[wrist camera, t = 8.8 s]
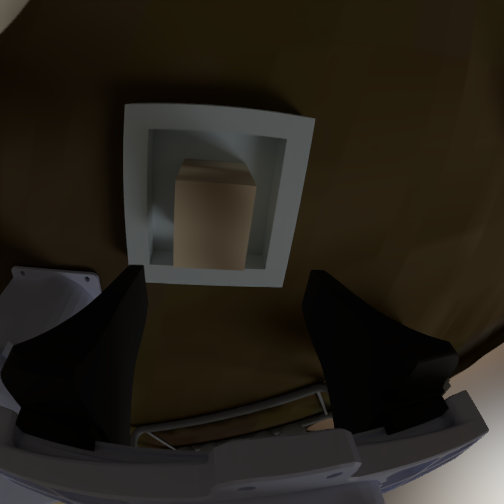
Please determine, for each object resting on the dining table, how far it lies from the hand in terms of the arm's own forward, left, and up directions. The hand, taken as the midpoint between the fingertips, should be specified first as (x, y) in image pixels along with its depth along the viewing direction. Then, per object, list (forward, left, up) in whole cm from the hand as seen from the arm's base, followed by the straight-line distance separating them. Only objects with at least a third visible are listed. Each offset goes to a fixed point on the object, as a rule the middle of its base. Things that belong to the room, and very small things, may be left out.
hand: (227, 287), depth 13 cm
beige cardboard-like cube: (-1, +1, -9) cm, 9 cm away
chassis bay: (-1, +1, -9) cm, 9 cm away
